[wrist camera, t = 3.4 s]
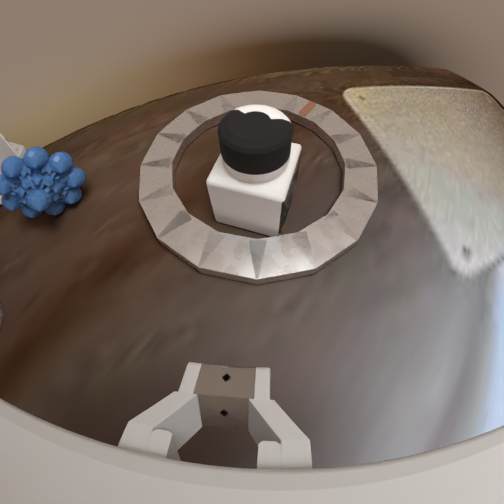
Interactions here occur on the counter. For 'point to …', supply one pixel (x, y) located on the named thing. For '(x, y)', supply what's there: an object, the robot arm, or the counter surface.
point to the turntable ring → (272, 248)
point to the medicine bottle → (254, 169)
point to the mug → (1, 315)
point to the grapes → (40, 182)
